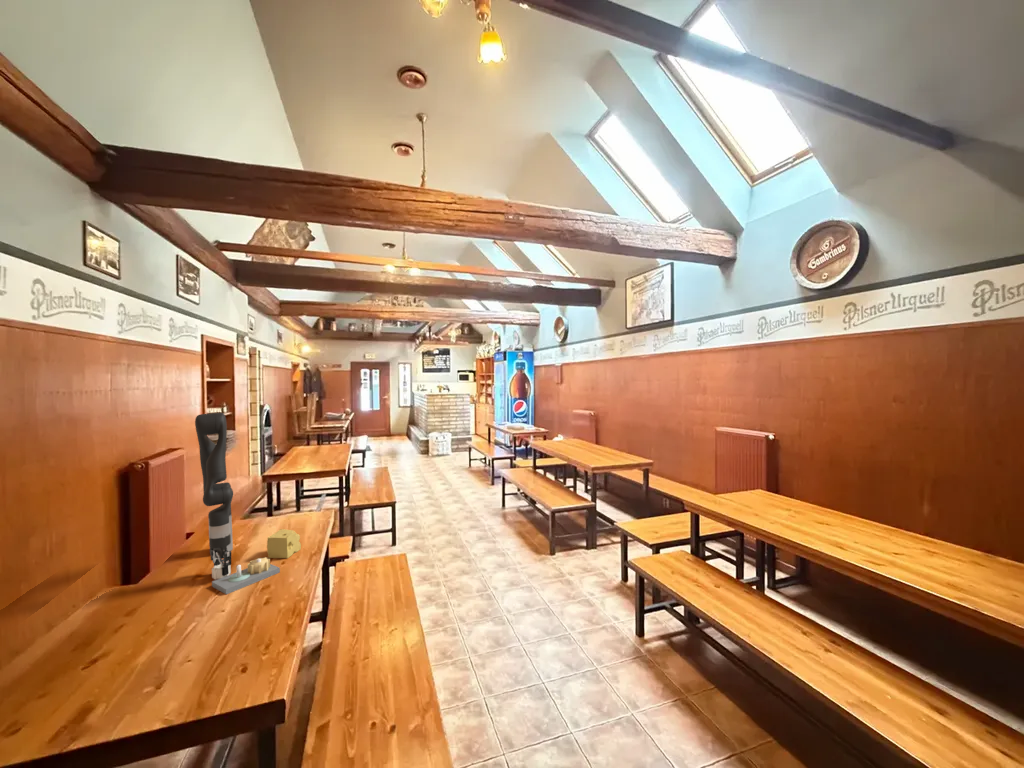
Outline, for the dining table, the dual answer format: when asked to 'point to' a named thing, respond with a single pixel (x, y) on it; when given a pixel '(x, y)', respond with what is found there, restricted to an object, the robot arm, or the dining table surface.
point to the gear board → (246, 575)
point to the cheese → (283, 544)
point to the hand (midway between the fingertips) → (221, 572)
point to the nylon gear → (219, 571)
